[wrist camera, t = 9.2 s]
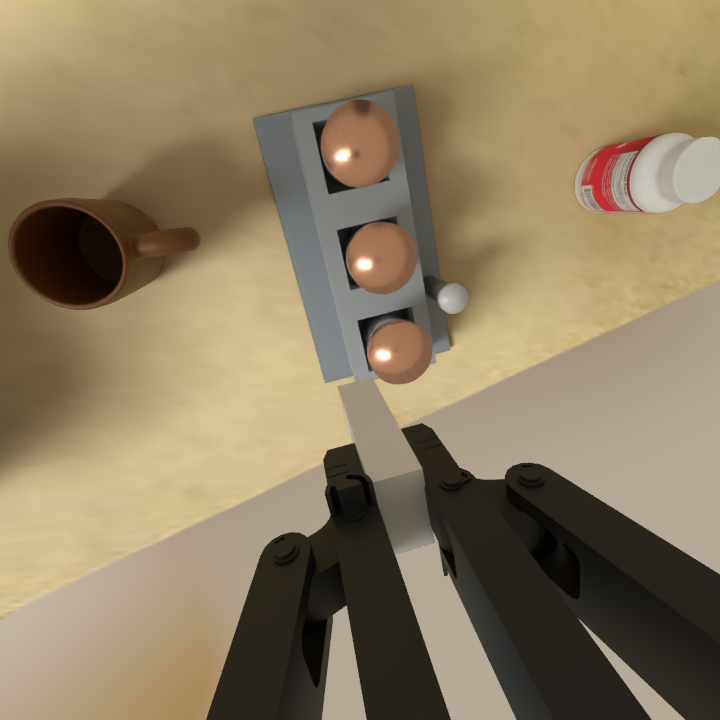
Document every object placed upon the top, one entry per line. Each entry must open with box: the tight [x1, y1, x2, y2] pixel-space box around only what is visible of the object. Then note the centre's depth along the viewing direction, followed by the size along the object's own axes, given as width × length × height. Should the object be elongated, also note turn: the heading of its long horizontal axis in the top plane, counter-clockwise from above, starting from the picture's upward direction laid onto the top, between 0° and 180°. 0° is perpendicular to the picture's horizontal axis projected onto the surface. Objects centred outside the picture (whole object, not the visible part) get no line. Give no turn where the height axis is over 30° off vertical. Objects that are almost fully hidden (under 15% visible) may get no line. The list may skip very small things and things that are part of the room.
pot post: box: [423, 276, 469, 314], centre depth 38 cm, size 3×3×7 cm
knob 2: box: [361, 311, 433, 384], centre depth 38 cm, size 5×5×8 cm
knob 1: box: [321, 99, 399, 188], centre depth 32 cm, size 5×5×8 cm
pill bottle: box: [575, 133, 720, 213], centre depth 36 cm, size 6×6×11 cm
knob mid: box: [343, 222, 417, 294], centre depth 35 cm, size 5×5×8 cm
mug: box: [8, 198, 200, 310], centre depth 32 cm, size 12×8×9 cm, turn 98°
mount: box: [253, 84, 450, 383], centre depth 37 cm, size 14×25×5 cm, turn 12°
